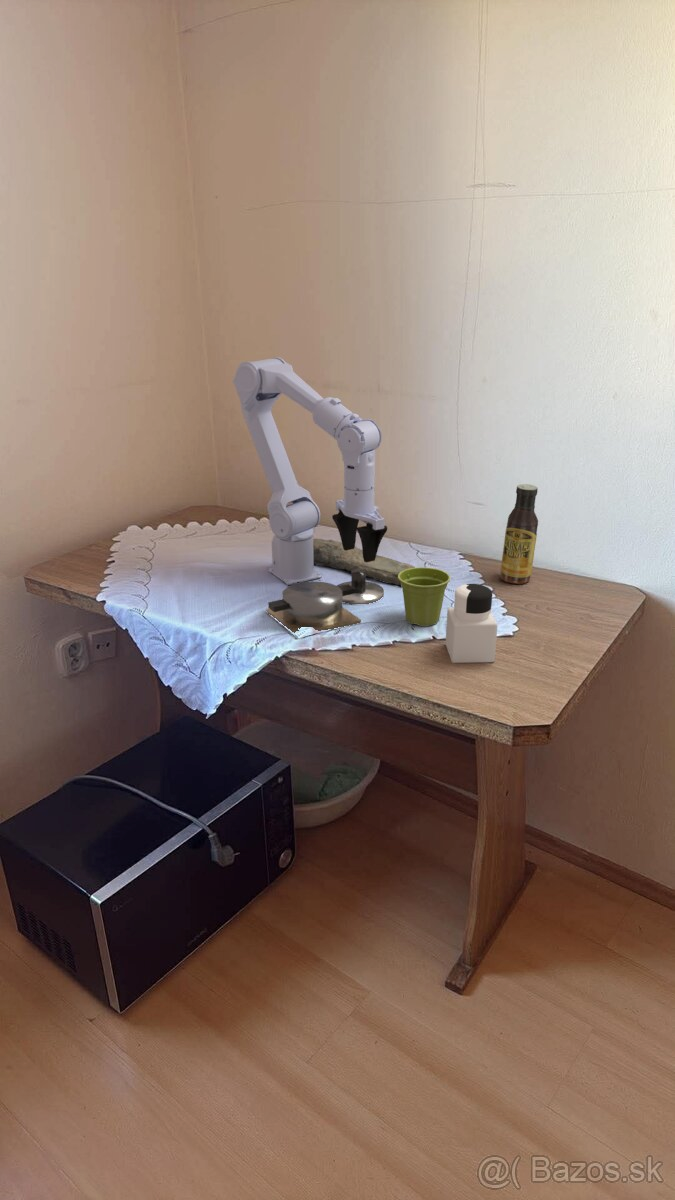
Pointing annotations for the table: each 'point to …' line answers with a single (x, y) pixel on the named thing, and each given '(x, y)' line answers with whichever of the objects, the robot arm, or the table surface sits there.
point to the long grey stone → (356, 561)
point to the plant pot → (423, 594)
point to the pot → (313, 606)
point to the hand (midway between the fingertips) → (359, 555)
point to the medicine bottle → (471, 625)
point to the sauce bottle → (520, 537)
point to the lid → (362, 589)
